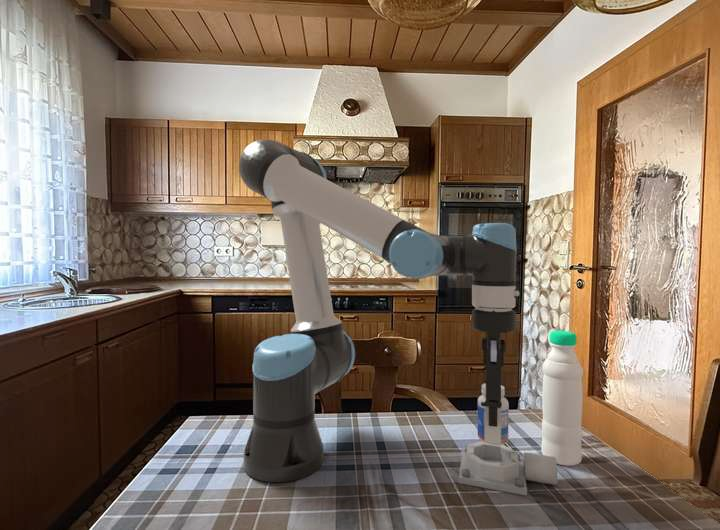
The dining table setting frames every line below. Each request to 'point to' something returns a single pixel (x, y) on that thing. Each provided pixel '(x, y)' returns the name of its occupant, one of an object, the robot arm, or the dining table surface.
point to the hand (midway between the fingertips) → (492, 434)
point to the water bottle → (562, 401)
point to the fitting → (504, 468)
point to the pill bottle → (503, 416)
